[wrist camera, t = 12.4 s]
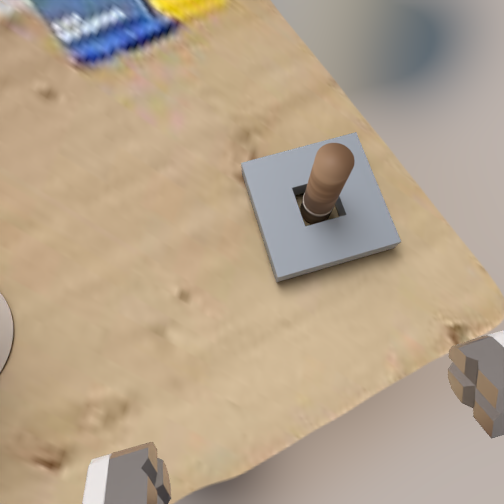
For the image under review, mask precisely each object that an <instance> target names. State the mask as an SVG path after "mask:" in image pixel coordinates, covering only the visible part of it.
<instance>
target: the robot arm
mask: <svg viewBox="0 0 504 504" xmlns="http://www.w3.org/2000/svg"><path fill="white" fill-rule="evenodd" d="M12 340H13V320H12V315H11V312H10V309H9V306H8V304H7V302H6V300H5V299H4V297H3V296H2V294H1V293H0V372H1V370H2V368H3V367H4V365H5V362H6V360H7V358H8V355H9V352H10V349H11V345H12ZM449 358H450V359H451V360H452V361H453V363H452V364H451V366H450V367H449V368H448V379H449V382H450V385H451V388H452V390H453V391H454V393H455V395H456V396H457V397H458V399H459V400H460V401H461V402H462V403H463V404H465V405H467V406H470V407H472V408H473V417H474V418H475V419H476V421H477V422H478V423H479V424H480V425H481V427H482V428H483V429H484V430H485V431H486V433H487V434H488V435H489V436H490V437H491V438H495V437H498V436H501V435H504V330H502V331H499V332H496V333H492V334H489V335H487V336H482V337H479V338H476V339H473V340H470V341H467V342H464V343H461V344H458V345H455V346H452V347H451V348H450V350H449ZM170 499H171V486H170V480H169V474H168V471H167V468H166V465H165V463H164V461H163V460H162V459H159V458H157V448H156V446H155V445H154V443H153V442H149V443H146V444H142V445H139V446H135V447H132V448H128V449H125V450H121V451H118V452H114V453H111V454H108V455H105V456H101V457H98V458H95V459H92V460H91V462H90V465H89V467H88V472H87V478H86V484H85V490H84V496H83V502H82V504H168V503H169V501H170Z"/></svg>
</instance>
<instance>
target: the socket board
mask: <svg viewBox="0 0 504 504" xmlns="http://www.w3.org/2000/svg"><path fill="white" fill-rule="evenodd" d="M328 143H340V144H343V145H345V146H346V147H348V148H349V149H350V150H351V152H352V153H353V155H354V160H355V163H354V167H353V169H352V171H351V173H350V175H349V177H348V179H347V181H346V183H345V185H344V187H343V189H342V191H341V193H340V195H339V197H338V199H337V201H336V203H335V206H336V208H337V211H338V214H339V216H340V217H337V218H334V219H330V220H326V221H323V222H319V223H316V224H312V225H309V226H305V224H304V221H303V218H302V216H301V213H300V210H299V207H298V204H297V201H296V198H295V195H298V194H302V193H305V190H306V187H307V184H308V180H309V177H310V173H311V170H312V167H313V163H314V160H315V156H316V153H317V151H318V150H319V149H320V148H321V147H322V146H324V145H325V144H328ZM241 166H242V175H243V178H244V181H245V184H246V187H247V191H248V194H249V197H250V200H251V203H252V206H253V210H254V213H255V216H256V219H257V222H258V225H259V228H260V232H261V235H262V238H263V241H264V244H265V247H266V251H267V254H268V257H269V260H270V263H271V266H272V269H273V273H274V276H275V279H276V282H279V281H283V280H286V279H290V278H293V277H296V276H300V275H303V274H307V273H310V272H314V271H317V270H320V269H324V268H327V267H331V266H334V265H337V264H341V263H344V262H348V261H351V260H355V259H358V258H361V257H365V256H368V255H372V254H375V253H379V252H382V251H385V250H389V249H392V248H394V247H395V246H397V245H398V244H399V243H400V242H401V240H400V238H399V235H398V233H397V230H396V228H395V225H394V223H393V221H392V218H391V216H390V213H389V211H388V209H387V206H386V204H385V201H384V199H383V196H382V194H381V192H380V189H379V187H378V184H377V182H376V179H375V177H374V175H373V172H372V170H371V167H370V165H369V163H368V160H367V158H366V155H365V153H364V150H363V148H362V146H361V143H360V141H359V138H358V136H357V133H356V132H355V133H352V134H348V135H344V136H340V137H337V138H333V139H329V140H325V141H322V142H318V143H314V144H310V145H307V146H303V147H299V148H296V149H292V150H288V151H284V152H281V153H277V154H273V155H269V156H266V157H262V158H258V159H254V160H251V161H247V162H243V163H241Z"/></svg>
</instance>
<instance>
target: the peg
mask: <svg viewBox="0 0 504 504" xmlns="http://www.w3.org/2000/svg"><path fill="white" fill-rule="evenodd" d="M354 163H355V160H354V155H353V153H352V152H351V150H350V149H349V148H348V147H346V146H345V145H343V144H340V143H328V144H325V145H324V146H322V147H321V148H320V149H319V150H318V151H317V153H316V156H315V160H314V163H313V167H312V170H311V173H310V177H309V180H308V184H307V187H306V190H305V193H304V196H303V200H302V204H301V208H300V211H301V215H302V217H303V218H304V219H305V220H306V221H307V222H309V223H312V224H316V223H319V222H323V221H326V220H327V218H328V217H329V215H330V213H331V211H332V209H333V208H334V206H335V203H336V201H337V199H338V197H339V195H340V193H341V191H342V189H343V187H344V185H345V183H346V181H347V179H348V177H349V175H350V173H351V171H352V169H353V167H354Z"/></svg>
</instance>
